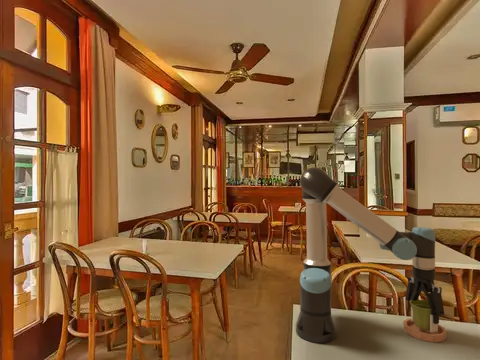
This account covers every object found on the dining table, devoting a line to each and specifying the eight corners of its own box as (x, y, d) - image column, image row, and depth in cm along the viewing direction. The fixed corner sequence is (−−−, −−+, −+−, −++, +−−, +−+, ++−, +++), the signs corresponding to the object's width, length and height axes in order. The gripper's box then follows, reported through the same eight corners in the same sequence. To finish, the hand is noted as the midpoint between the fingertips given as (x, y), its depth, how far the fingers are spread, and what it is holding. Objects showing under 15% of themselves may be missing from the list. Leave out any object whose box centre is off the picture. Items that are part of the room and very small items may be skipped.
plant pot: (442, 333, 109) (442, 310, 109) (415, 330, 111) (415, 307, 111) (431, 322, 118) (431, 300, 118) (406, 319, 120) (406, 298, 120)
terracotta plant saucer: (406, 337, 111) (406, 330, 111) (401, 321, 124) (401, 315, 124) (450, 345, 105) (450, 338, 105) (441, 328, 118) (441, 322, 118)
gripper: (456, 274, 105) (457, 338, 105) (410, 260, 126) (410, 313, 126) (439, 276, 104) (440, 340, 103) (395, 261, 124) (395, 315, 124)
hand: (423, 325), depth 114 cm, fingers closed on plant pot, 8 cm apart
